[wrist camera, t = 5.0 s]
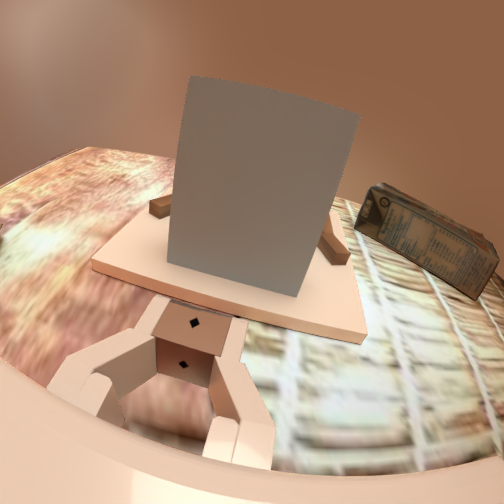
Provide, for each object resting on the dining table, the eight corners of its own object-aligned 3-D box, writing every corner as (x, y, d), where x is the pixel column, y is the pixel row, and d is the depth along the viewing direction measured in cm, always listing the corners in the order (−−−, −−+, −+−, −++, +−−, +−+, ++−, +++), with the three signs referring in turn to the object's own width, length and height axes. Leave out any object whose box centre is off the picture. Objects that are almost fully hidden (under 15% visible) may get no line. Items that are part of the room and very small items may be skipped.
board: (335, 219, 35) (338, 212, 34) (361, 344, 18) (367, 334, 17) (187, 180, 35) (188, 173, 35) (92, 269, 18) (91, 258, 18)
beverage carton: (368, 216, 40) (383, 176, 36) (474, 280, 31) (496, 241, 28) (350, 229, 34) (369, 180, 31) (476, 306, 26) (505, 261, 22)
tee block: (298, 240, 26) (339, 108, 19) (296, 297, 19) (361, 115, 13) (201, 214, 26) (225, 80, 20) (166, 262, 19) (189, 75, 13)
